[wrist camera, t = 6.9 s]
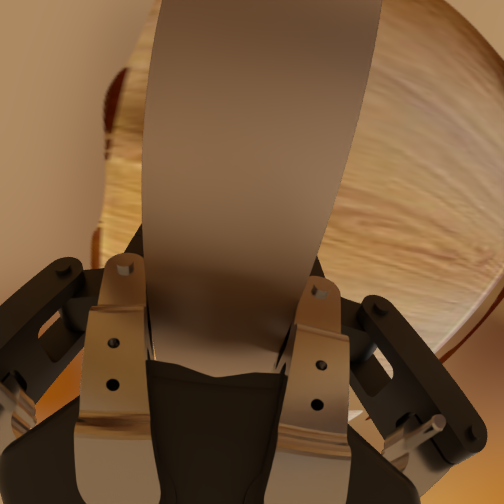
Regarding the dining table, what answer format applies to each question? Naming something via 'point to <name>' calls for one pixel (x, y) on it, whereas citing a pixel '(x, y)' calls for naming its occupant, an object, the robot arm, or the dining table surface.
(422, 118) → the dining table surface
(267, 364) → the walnut bar
